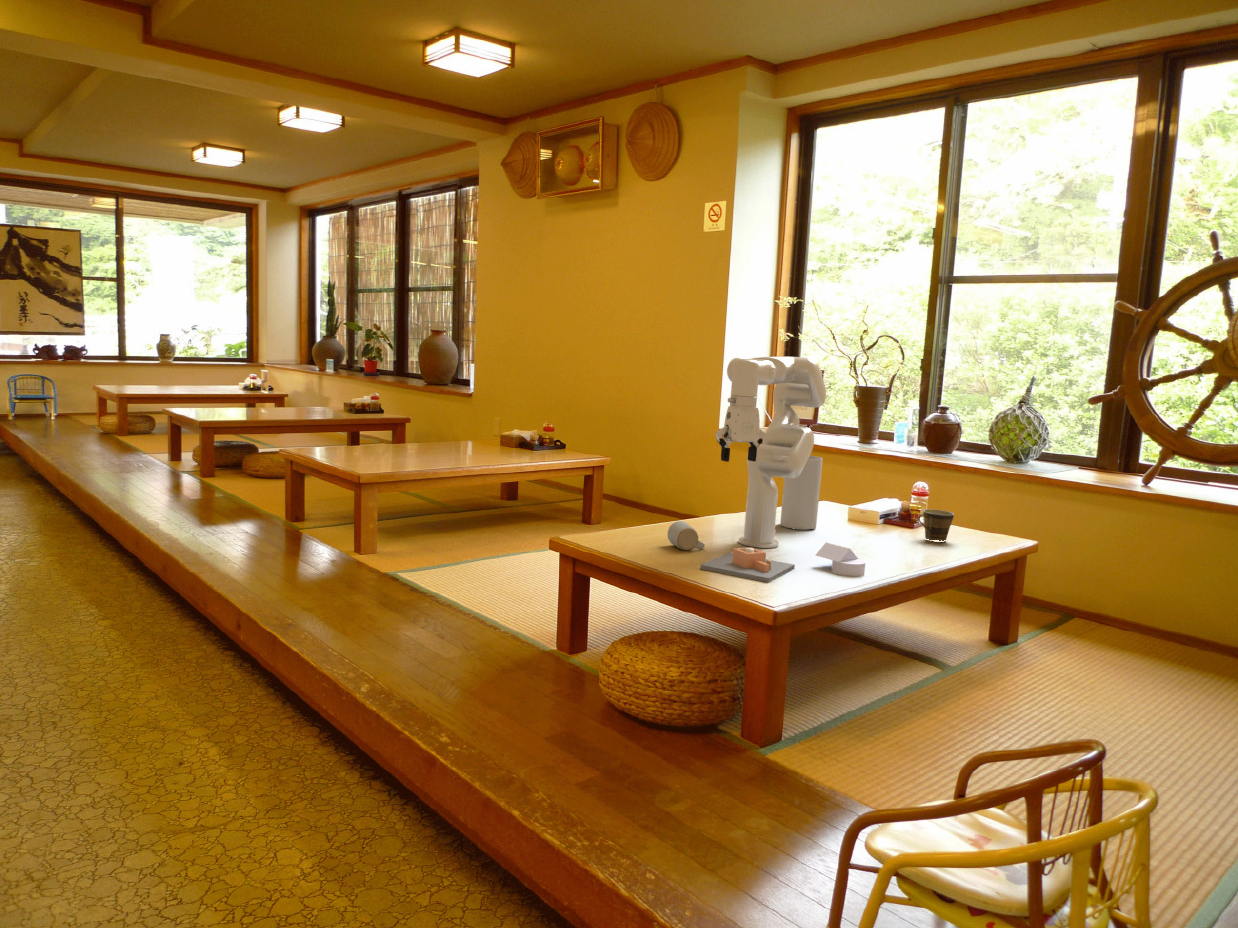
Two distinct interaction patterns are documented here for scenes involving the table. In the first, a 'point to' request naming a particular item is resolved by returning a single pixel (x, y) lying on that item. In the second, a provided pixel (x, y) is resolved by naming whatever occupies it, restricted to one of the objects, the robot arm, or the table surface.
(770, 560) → the dowel pin
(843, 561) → the wedge on round base
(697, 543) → the ceramic mug
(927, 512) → the ceramic cup
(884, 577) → the table surface
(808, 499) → the cylinder vase
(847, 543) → the table surface
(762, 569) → the square frame with post
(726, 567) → the base plate
